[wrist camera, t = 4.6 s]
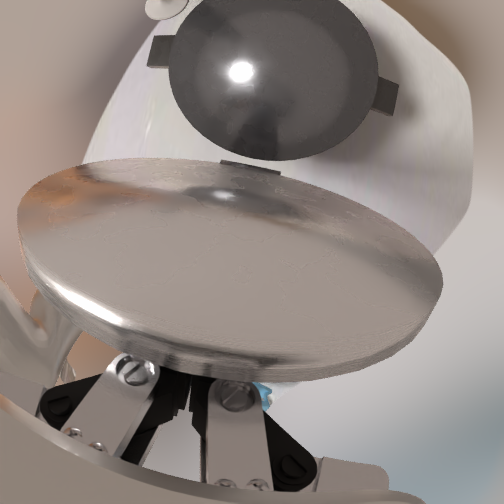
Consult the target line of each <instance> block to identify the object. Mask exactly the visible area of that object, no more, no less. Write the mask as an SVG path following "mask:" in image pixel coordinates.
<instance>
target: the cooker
mask: <svg viewBox="0 0 504 504" xmlns="http://www.w3.org/2000/svg"><path fill="white" fill-rule="evenodd" d="M147 66H148V67H150V68H168V69H169V79H170V85H171V88H172V92H173V95H174V98H175V100H176V102H177V104H178V106H179V108H180V110H181V111H182V113H183V114H184V116H185V117H186V119H187V120H188V121H189V122H190V123H191V124H192V126H193V127H194V128H195V129H196V130H198V131H199V132H200V133H201V134H202V135H203V136H204V137H206V138H207V139H209V140H210V141H211V142H213V143H214V144H216V145H218V146H220V147H222V148H224V149H226V150H228V151H230V152H233V153H236V154H238V155H241V156H245V157H249V158H253V159H260V160H267V161H285V160H296V159H300V158H305V157H309V156H312V155H315V154H318V153H321V152H323V151H325V150H327V149H330V148H332V147H334V146H335V145H337V144H338V143H340V142H341V141H343V140H344V139H345V138H347V137H348V136H349V135H350V134H351V133H352V132H354V130H355V129H356V128H357V127H358V126H359V125H360V124H361V122H362V121H363V120H364V118H365V116H366V115H367V113H368V112H369V110H370V109H371V110H374V111H376V112H379V113H382V114H384V115H386V116H393V112H394V108H395V103H396V98H397V93H398V88H399V85H398V84H396V83H393V82H391V81H389V80H386V79H384V78H382V77H379V76H378V63H377V57H376V53H375V49H374V46H373V43H372V41H371V39H370V37H369V35H368V33H367V31H366V29H365V28H364V26H363V25H362V23H361V22H360V21H359V19H358V18H357V17H356V16H355V15H354V14H353V13H352V11H350V10H349V9H348V8H347V7H346V6H345V5H344V4H343V3H341V2H340V1H338V0H203V1H202V2H201V3H200V4H199V5H197V6H196V7H195V8H194V9H193V10H192V11H191V12H190V13H189V15H188V16H187V17H186V18H185V20H184V21H183V23H182V24H181V26H180V27H179V29H178V31H177V33H176V35H159V36H154V38H153V42H152V46H151V50H150V54H149V58H148V62H147Z"/></svg>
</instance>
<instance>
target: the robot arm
mask: <svg viewBox="0 0 504 504" xmlns="http://www.w3.org/2000/svg"><path fill="white" fill-rule="evenodd" d="M82 332H83V330H82V329H80V328H78V327H77V326H75V325H74V324H72V323H71V322H70V321H69V320H68V319H66V318H65V317H64V316H63V315H62V314H61V313H60V312H59V311H57V310H56V309H55V308H54V307H53V306H52V305H51V304H50V303H49V302H48V301H47V300H45V298H44V297H43V296H42V294H41V293H40V292H39V290H38V289H37V290H36V292H35V294H34V296H33V298H32V302H31V306H30V315H29V314H28V313H27V312H26V311H25V309H24V308H23V307H22V305H21V304H20V302H19V301H18V300H17V298H16V297H15V295H14V294H13V293H12V291H11V290H10V288H9V287H8V286H7V284H6V283H5V281H4V280H3V278H2V277H1V276H0V504H426V503H425V502H424V501H423V500H421V499H420V498H418V497H416V496H413V495H411V494H408V493H403V492H399V491H391V490H388V488H389V478H388V475H387V473H386V471H385V470H384V469H382V468H381V467H379V466H376V465H371V464H363V463H355V462H349V461H344V460H338V459H333V458H328V457H323V458H322V459H321V458H316V457H313V456H312V455H311V454H310V453H309V452H308V451H307V450H306V449H305V448H304V447H302V446H301V445H300V444H299V443H298V442H297V441H296V440H294V439H293V438H292V437H291V436H290V435H289V434H288V433H287V432H286V431H285V430H284V429H283V428H281V427H280V426H279V425H278V424H277V423H276V422H275V421H274V420H273V419H272V418H271V417H270V416H269V415H268V414H267V413H266V412H265V411H264V410H263V408H262V401H261V395H260V392H259V390H258V389H257V387H256V386H255V385H254V384H253V383H252V382H242V381H233V380H226V379H219V378H212V377H206V376H200V375H195V374H189V373H184V372H179V371H176V370H172V369H169V368H166V367H163V366H160V365H157V364H154V363H151V362H148V361H145V360H143V359H140V358H137V357H134V356H132V355H129V354H126V353H122V354H120V355H118V356H117V357H116V358H115V359H114V360H113V361H112V362H111V364H110V365H109V366H108V368H107V369H106V370H105V371H104V373H102V374H99V375H95V376H92V377H88V378H85V379H81V380H78V381H74V382H70V383H67V384H63V385H59V386H55V384H56V382H57V380H58V378H59V375H60V372H61V370H62V367H63V365H64V362H65V360H66V358H67V356H68V354H69V352H70V350H71V348H72V346H73V345H74V343H75V342H76V340H77V339H78V337H79V336H80V334H81V333H82ZM54 386H55V387H54ZM190 388H191V394H190V404H189V412H193V417H192V426H193V427H194V428H195V429H196V431H197V432H198V433H199V434H200V482H196V481H192V480H187V479H183V478H179V477H175V476H171V475H167V474H164V473H160V472H157V471H153V470H150V469H147V468H144V467H142V465H143V464H144V462H145V460H146V458H147V456H148V454H149V452H150V450H151V448H152V446H153V444H154V442H155V440H156V438H157V436H158V434H159V432H160V431H161V429H162V425H163V423H166V422H168V421H170V420H172V419H173V416H177V413H178V409H182V410H184V409H185V406H186V402H187V398H188V395H189V391H190Z"/></svg>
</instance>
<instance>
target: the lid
mask: <svg viewBox="0 0 504 504" xmlns="http://www.w3.org/2000/svg"><path fill="white" fill-rule="evenodd" d="M280 174H281V172H280V171H276V170H271V169H266V168H262V167H257V166H252V165H247V164H242V163H237V162H232V161H226V160H221V162H220V163H215V162H207V161H198V160H188V159H173V158H128V159H115V160H106V161H99V162H93V163H87V164H83V165H79V166H75V167H71V168H68V169H65V170H62V171H59V172H57V173H54V174H52V175H50V176H48V177H46V178H44V179H42V180H41V181H39V182H38V183H36V184H35V185H34V186H32V187H31V188H30V189H29V190H28V191H27V192H26V193H25V195H24V196H23V197H22V199H21V202H20V204H19V206H18V211H17V225H18V233H19V241H20V248H21V254H22V258H23V261H24V264H25V267H26V270H27V272H28V275H29V277H30V279H31V280H32V281H33V283H34V284H35V286H36V287H37V289H38V290H39V292H40V293H41V294H42V296H43V297H44V298H45V300H47V301H48V302H49V303H50V304H51V305H52V306H53V307H54V308H55V309H56V310H57V311H59V312H60V313H61V314H62V315H63V316H64V317H65V318H66V319H68V320H69V321H70V322H71V323H72V324H74V325H75V326H77V327H78V328H80V329H82V330H83V331H85V332H87V333H88V334H90V335H92V336H93V337H95V338H97V339H99V340H100V341H102V342H104V343H106V344H107V345H109V346H111V347H113V348H115V349H117V350H119V351H121V352H124V353H126V354H129V355H132V356H134V357H137V358H140V359H143V360H145V361H148V362H151V363H154V364H157V365H160V366H163V367H166V368H169V369H172V370H176V371H179V372H184V373H189V374H195V375H200V376H206V377H212V378H219V379H226V380H233V381H242V382H296V381H312V380H317V379H322V378H328V377H332V376H337V375H342V374H346V373H350V372H354V371H359V370H361V369H364V368H366V367H368V366H371V365H373V364H376V363H378V362H380V361H382V360H385V359H387V358H389V357H391V356H393V355H394V354H395V353H397V352H398V351H399V350H401V349H402V348H404V347H405V346H406V345H408V344H409V343H410V342H412V340H413V339H414V338H415V337H416V336H417V334H418V333H419V332H420V330H421V329H422V328H423V326H424V325H425V323H426V321H427V320H428V318H429V316H430V314H431V312H432V311H433V309H434V307H435V305H436V303H437V301H438V299H439V297H440V295H441V291H442V287H443V278H442V272H441V270H440V268H439V265H438V263H437V261H436V260H435V258H434V257H433V255H432V254H431V253H430V252H429V251H428V249H427V248H426V247H425V246H424V245H423V244H422V243H421V242H420V241H418V240H417V239H416V238H415V237H414V236H413V235H411V234H410V233H409V232H407V231H406V230H405V229H404V228H402V227H401V226H399V225H398V224H396V223H394V222H393V221H391V220H390V219H388V218H386V217H385V216H383V215H381V214H379V213H377V212H376V211H374V210H372V209H370V208H368V207H366V206H364V205H362V204H359V203H357V202H355V201H353V200H351V199H348V198H346V197H344V196H341V195H339V194H336V193H334V192H331V191H328V190H326V189H323V188H320V187H317V186H314V185H311V184H308V183H305V182H302V181H298V180H295V179H292V178H288V177H284V176H281V175H280Z"/></svg>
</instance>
